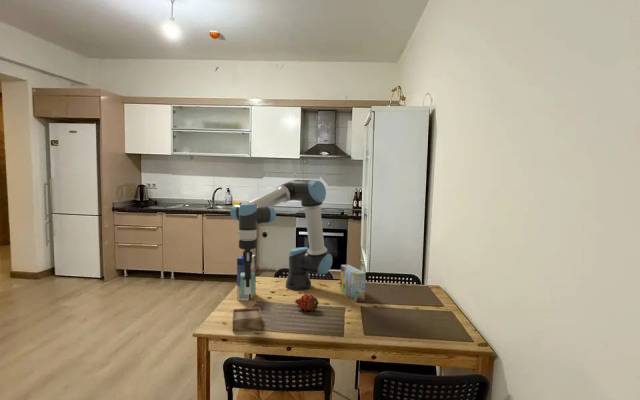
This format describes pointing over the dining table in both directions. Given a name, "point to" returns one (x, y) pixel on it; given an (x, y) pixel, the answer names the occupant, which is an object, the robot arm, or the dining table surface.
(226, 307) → the dining table surface
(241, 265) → the beverage box
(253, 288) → the block
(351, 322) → the dining table surface
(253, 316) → the tray
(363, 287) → the snack box
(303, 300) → the dragon fruit
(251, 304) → the dining table surface
